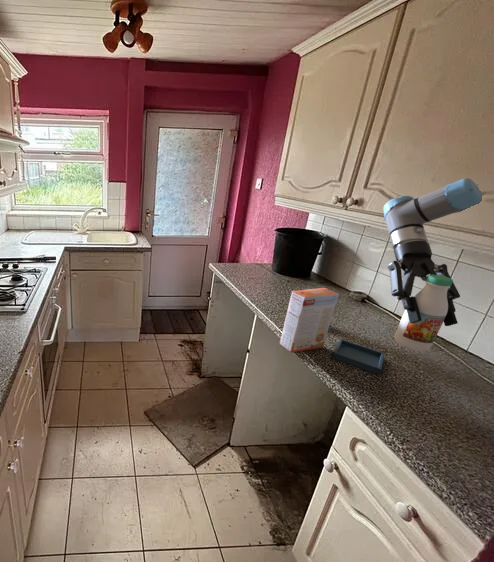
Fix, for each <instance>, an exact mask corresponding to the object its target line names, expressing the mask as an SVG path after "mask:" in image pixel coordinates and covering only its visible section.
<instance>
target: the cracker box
mask: <svg viewBox="0 0 494 562" xmlns="http://www.w3.org/2000/svg"><path fill="white" fill-rule="evenodd" d="M339 295H340V294H339V293H338V292H336V291H333V290H331V289H329V288H327V287H320V288H319V287H318V288H310V289H309V288H308V289H299V290H292V291H291V294H290V297H289V302H288V307H287V311H286V314H285V315H286V316H285V319H284V322H283V323H284V324H283V327H282V332H281V336H280V340H279V345H280V346H281V347H282V348H284V349H285V350H287V351H288V352H290V353H296V352H297V353H298V352H304V351H309V350H310V351H311V350H316V349H321V348H324V345H325V342H326V339H327V336H328V333H329V329H330V324H331V322H332V319H333V316H334V312H335V309H336V305H337V302H338V299H339Z"/></svg>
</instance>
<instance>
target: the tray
mask: <svg viewBox="0 0 494 562" xmlns="http://www.w3.org/2000/svg"><path fill="white" fill-rule="evenodd" d="M384 358H385V352H383V351H380V350H376V349H373V348H371V347H367V346H365V345H364V346H363V345H361V344H358V343H355V342H352V341H349V340H347V339H346V340H345V339H344V338H343V339H342V338H340V339H339V341H338V344H337V346H336V348H335V351H334V353H333V356H332V359H335V360H338V361H339V362H342V363H346V364H348V365H352V366H353V367H356V368H359V369H361V370H365V371H366V372H367V371H368V372H370V373H373V374H376V375H379V376H380V374H381V372H382V369H383V363H384Z"/></svg>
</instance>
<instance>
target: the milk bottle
mask: <svg viewBox="0 0 494 562" xmlns="http://www.w3.org/2000/svg"><path fill="white" fill-rule="evenodd" d="M427 276H428V278H427V281H425V286H423V288H422V289H421V290H420V291H419V292H417V293H416V294H415V295H413V296H414V297H415V298H416V302H417V305H418V309H419V312H420V316H421V319H422V321H419V322H416V323H410V321H409V317H408V313H407V310H405V309H404V312H403V314H402V316H401V319H400V320H399V324H398V326H397V328H396V330H395V332H394V333H395V334H394V336H393V340H394V342H396V343H397V344H399V345H400V346H402V347H404V348H407V349H409V350H412V351H418V352H427V351H430V350H431V348H432V347H433V344H434V342H435V340H436V338H437V336H438V334H439V332H440V330H441V328H442V326H443V324H444V319H445V317H446V314H447V311H448V301H447V290H448V288H450V286H451V285H452V282H453V283H454V279H452V277H451V278H448V277H445V276H440V275H430V274H429V275H427Z"/></svg>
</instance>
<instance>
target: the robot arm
mask: <svg viewBox="0 0 494 562" xmlns="http://www.w3.org/2000/svg"><path fill="white" fill-rule="evenodd" d="M477 185H478V184H477V183H476V182H475V181H474V180H473V179H471V178H469V177H467V178H462V179H460V180H457V181H454V182H451V183H448V184H447V185H445V186H442V187H440V188H438V189H435V190H433V191H431V192H428V193H426V194H424V195H422V196H418V197H415V198H414V197H413V196H411V195H402V196H401V195H400V196H399V197H397V196H396V197H394V198H392V199H390V200H388V201H387V202H386V203H385V204H384V205H383V208H382V209H383V218H384V221H385V223H386V227H387V230H388V234H389V238H390V242H391V247H392V249H393V253H394V257H395V260H393V261H391V262H390V263H388V264H387V265H386V267H387V269H388V271H389V279H390V291H391V293H390V294H391V296H392V297H396V299H397V300H398V301H401V303H402V307H403V309H404V311H405V310H407V313H408V317H409V321H410V323H416V322H419V321H422V319H421V316H420V312H419V309H418V305H417V302H416V298H415V297H414V296H415V295H413V296H412V293H413V287H414V283H415V279H416V277H418V278H420V279H421V280H422V281H423V282H426V281H427V278H428V276H429V275H440V276H445V277H448V278H451V279H452V277H451V275H450V272H448V265H447V264H446V263H442V264H437V263H435V261H433V259H432V256H433V251H432V248H431V245H430V243H429V242H428V241H429V240H428V239H429V238H428V236H427V234H426V229H425V227H424V224H426V223H429V222H432V221H435V220H438V219H440V218H443V217H446V216H449V215H452V214H457V213H462V212H461V211H463V210H465V209H467V208H470V207H471V206H474V205H476V204H479V203H480V202H481V201H482V194H481V191H480V190H479V188H478V186H477ZM402 271H403V272H402ZM460 298H461V294H460V293H459V290H458V288H457V286H456V285H455V283H454V281H453V282H452V285H451V286H450V288H448V290H447V301H448V311H447V314H446V317H445V319H444V321H443V324H444V326H445V327H450V326H453V325H457V324H459V322H458V320H457V316H456V307H455V304H454V300H456V299H460Z"/></svg>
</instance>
